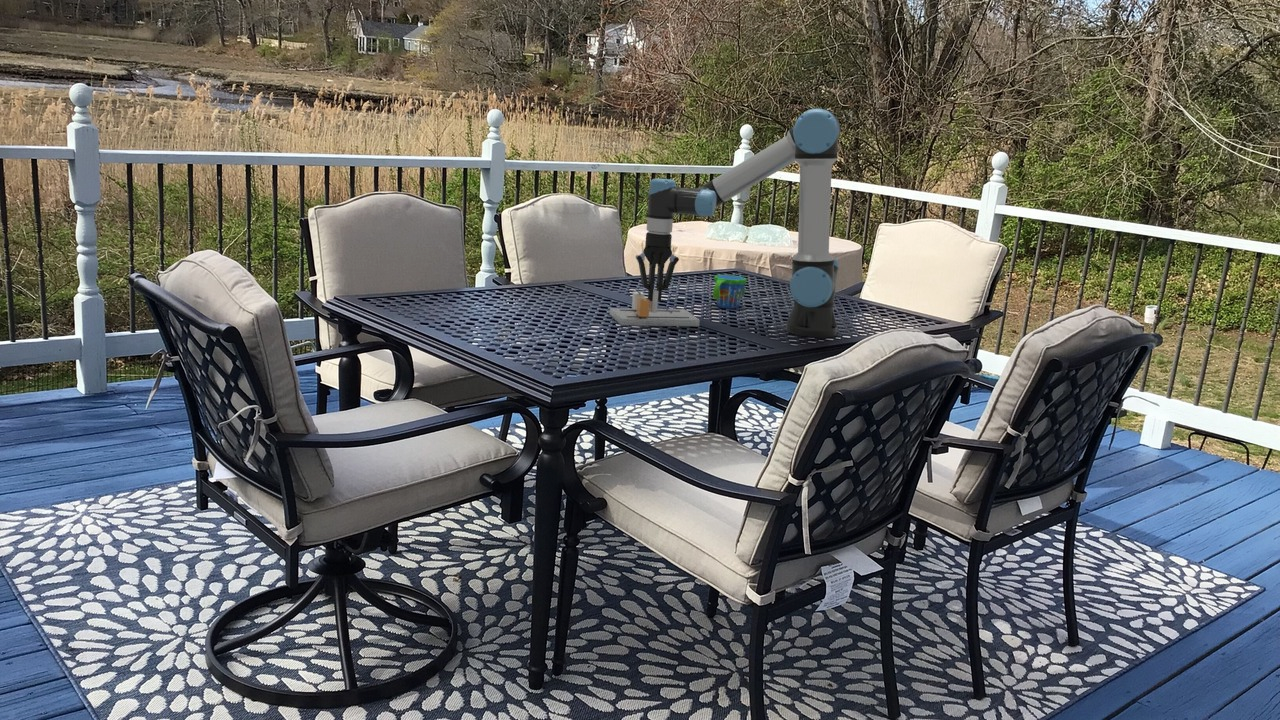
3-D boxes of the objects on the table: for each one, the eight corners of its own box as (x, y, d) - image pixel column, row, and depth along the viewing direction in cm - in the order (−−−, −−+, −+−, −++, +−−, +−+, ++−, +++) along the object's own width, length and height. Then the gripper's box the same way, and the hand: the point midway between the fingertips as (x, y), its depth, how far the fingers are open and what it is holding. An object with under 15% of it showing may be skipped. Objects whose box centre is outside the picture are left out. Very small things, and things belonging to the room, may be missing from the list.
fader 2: (648, 316, 290) (649, 298, 288) (639, 316, 289) (640, 298, 288) (645, 314, 293) (646, 296, 292) (636, 314, 293) (637, 296, 291)
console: (699, 326, 293) (699, 319, 292) (621, 325, 287) (621, 318, 286) (684, 315, 308) (684, 308, 308) (609, 314, 303) (609, 307, 302)
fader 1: (643, 310, 299) (644, 292, 298) (634, 309, 299) (635, 292, 297) (640, 307, 303) (641, 290, 302) (631, 307, 302) (632, 290, 301)
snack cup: (731, 302, 336) (733, 273, 334) (755, 308, 329) (757, 278, 327) (700, 306, 326) (702, 276, 323) (724, 312, 319) (726, 281, 316)
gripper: (677, 231, 291) (671, 309, 297) (634, 230, 288) (629, 308, 294) (684, 235, 284) (677, 314, 290) (640, 233, 281) (635, 313, 287)
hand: (653, 311), depth 292 cm, fingers closed
